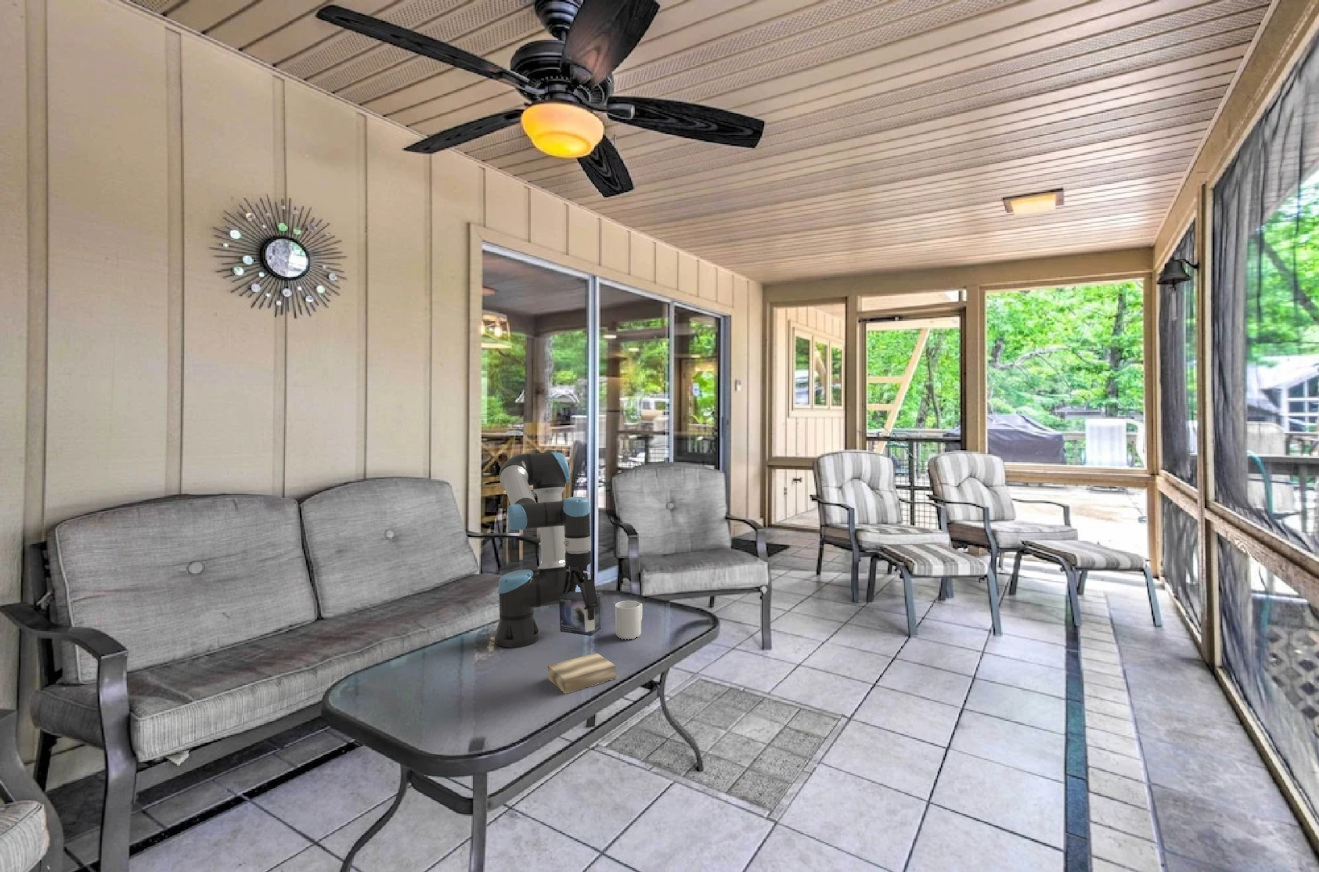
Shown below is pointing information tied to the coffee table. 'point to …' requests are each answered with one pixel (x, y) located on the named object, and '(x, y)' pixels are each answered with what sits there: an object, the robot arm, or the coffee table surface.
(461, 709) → the coffee table surface
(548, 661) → the coffee table surface
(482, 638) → the coffee table surface
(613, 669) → the wooden block
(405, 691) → the coffee table surface
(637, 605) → the mug
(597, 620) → the small box
